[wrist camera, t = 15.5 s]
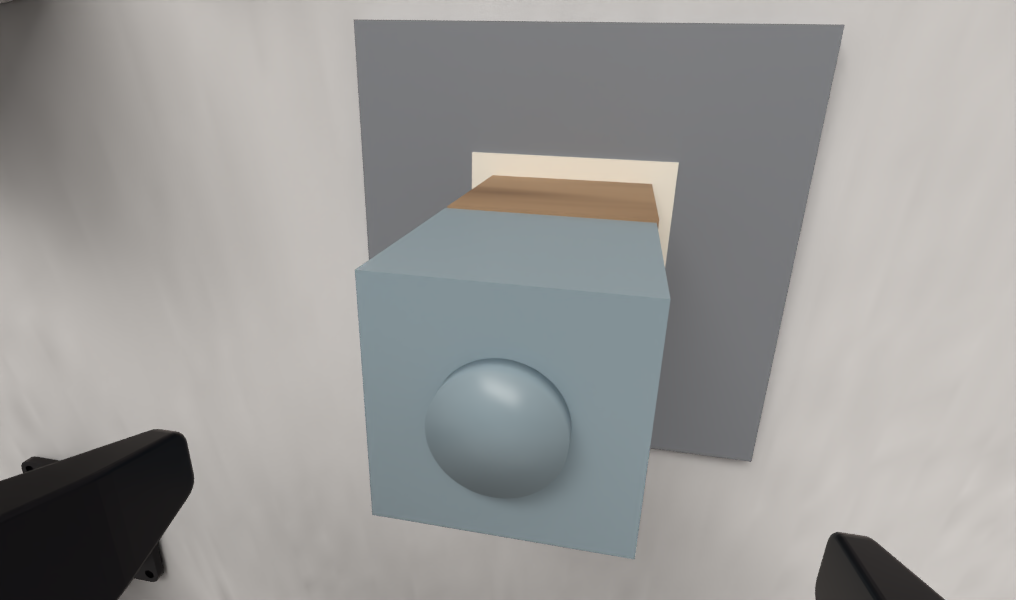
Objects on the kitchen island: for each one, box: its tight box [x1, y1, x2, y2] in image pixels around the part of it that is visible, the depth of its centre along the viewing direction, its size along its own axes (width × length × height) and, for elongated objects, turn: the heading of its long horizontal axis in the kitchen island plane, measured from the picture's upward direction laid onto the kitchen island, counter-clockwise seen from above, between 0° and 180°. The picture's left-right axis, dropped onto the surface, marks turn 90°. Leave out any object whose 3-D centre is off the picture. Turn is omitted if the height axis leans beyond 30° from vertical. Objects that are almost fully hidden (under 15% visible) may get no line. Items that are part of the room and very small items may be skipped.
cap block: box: [355, 208, 671, 559], centre depth 12 cm, size 5×5×6 cm
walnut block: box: [447, 175, 659, 227], centre depth 17 cm, size 5×5×5 cm
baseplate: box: [354, 20, 844, 462], centre depth 19 cm, size 14×14×1 cm
